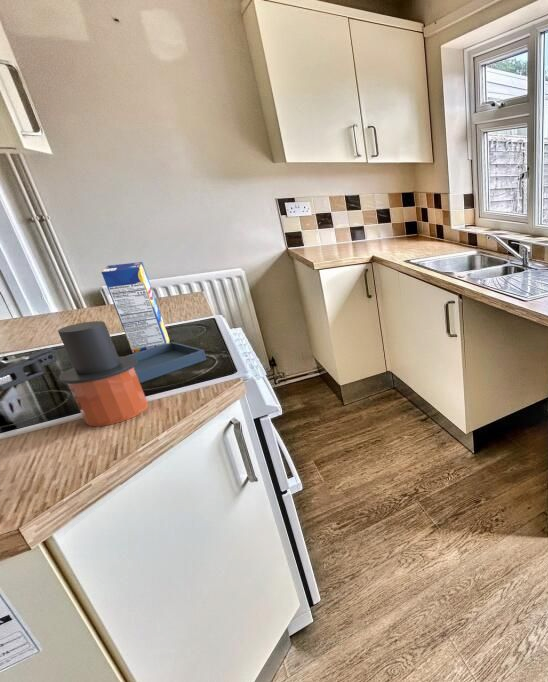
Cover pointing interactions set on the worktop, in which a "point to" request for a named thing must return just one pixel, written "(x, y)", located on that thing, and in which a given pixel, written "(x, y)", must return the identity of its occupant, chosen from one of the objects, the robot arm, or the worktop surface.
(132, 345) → the beverage box
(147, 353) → the tray
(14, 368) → the robot arm
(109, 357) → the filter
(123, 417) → the cup
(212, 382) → the worktop surface
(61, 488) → the worktop surface
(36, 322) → the worktop surface
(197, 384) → the worktop surface
